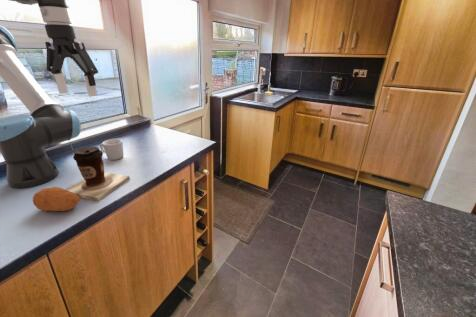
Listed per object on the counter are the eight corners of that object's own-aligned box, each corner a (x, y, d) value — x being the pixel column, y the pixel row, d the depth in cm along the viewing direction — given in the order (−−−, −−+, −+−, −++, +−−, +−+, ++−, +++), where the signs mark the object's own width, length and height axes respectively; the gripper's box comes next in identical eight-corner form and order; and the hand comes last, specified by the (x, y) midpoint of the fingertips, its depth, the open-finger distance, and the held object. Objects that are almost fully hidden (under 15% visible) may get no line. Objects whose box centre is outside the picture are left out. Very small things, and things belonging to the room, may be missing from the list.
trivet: (63, 193, 80) (62, 190, 80) (98, 173, 93) (97, 170, 93) (98, 200, 76) (97, 197, 76) (129, 178, 90) (129, 176, 89)
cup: (96, 160, 105) (92, 143, 101) (109, 153, 112) (105, 137, 109) (117, 162, 103) (113, 145, 99) (129, 155, 110) (125, 139, 106)
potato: (52, 199, 77) (45, 181, 74) (87, 203, 75) (80, 184, 72) (31, 213, 71) (22, 193, 68) (68, 218, 69) (61, 198, 66)
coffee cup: (97, 190, 80) (86, 156, 74) (76, 188, 81) (64, 153, 76) (114, 178, 87) (106, 146, 82) (95, 176, 89) (85, 144, 83)
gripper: (18, 24, 73) (41, 93, 82) (78, 22, 65) (96, 99, 74) (43, 26, 79) (62, 90, 88) (100, 24, 72) (115, 95, 81)
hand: (78, 94), depth 81 cm, fingers open, 13 cm apart
